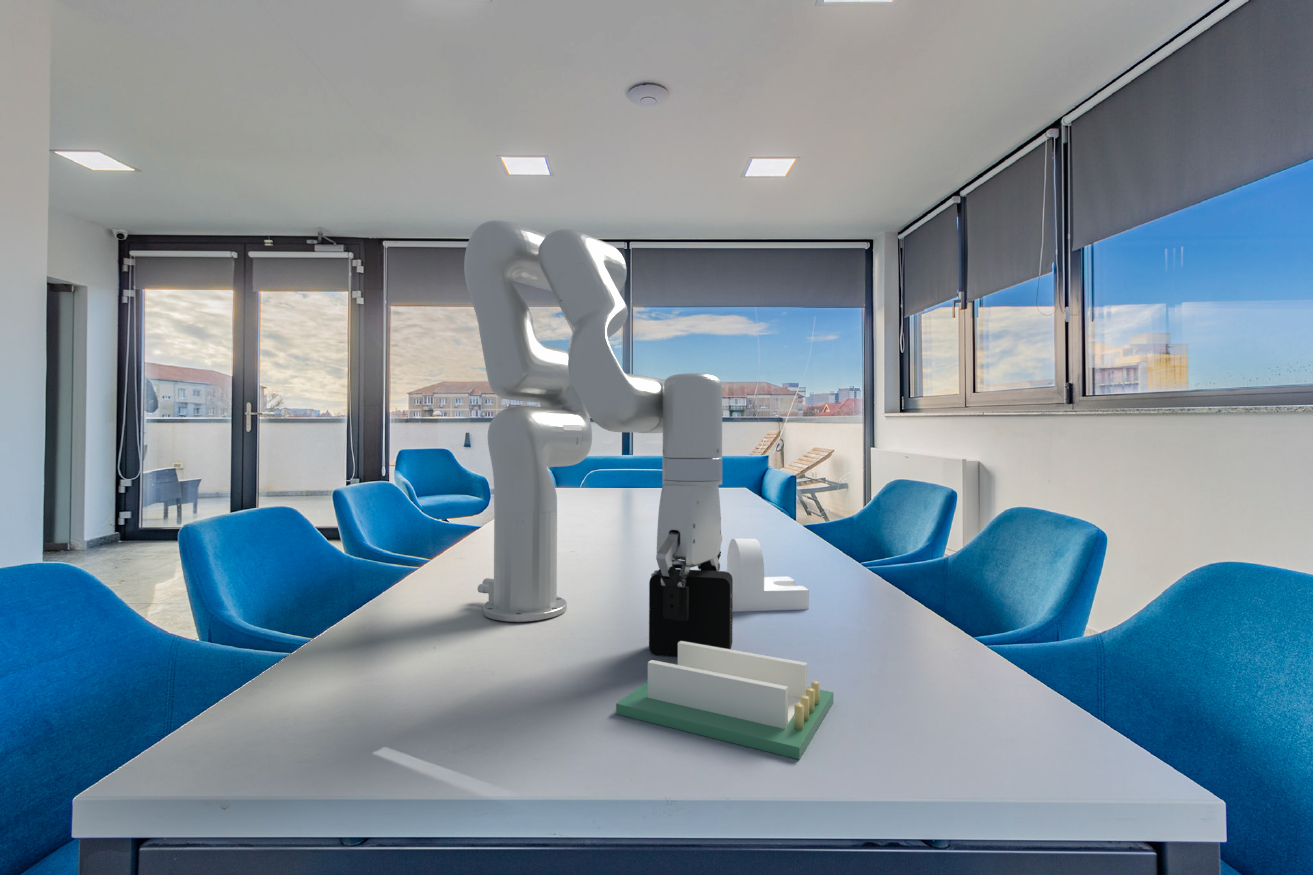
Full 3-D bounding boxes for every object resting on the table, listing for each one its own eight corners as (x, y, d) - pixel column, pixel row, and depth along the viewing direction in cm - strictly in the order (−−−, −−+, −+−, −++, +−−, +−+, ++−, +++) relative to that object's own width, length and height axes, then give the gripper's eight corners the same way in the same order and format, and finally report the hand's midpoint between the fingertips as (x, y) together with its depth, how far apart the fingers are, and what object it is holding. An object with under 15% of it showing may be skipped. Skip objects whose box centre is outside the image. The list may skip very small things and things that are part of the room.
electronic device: (729, 661, 75) (729, 578, 75) (648, 655, 77) (649, 574, 77) (732, 650, 79) (732, 571, 79) (655, 644, 81) (655, 567, 81)
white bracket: (788, 598, 107) (788, 533, 107) (808, 613, 97) (809, 543, 97) (685, 600, 105) (685, 534, 105) (695, 616, 95) (695, 544, 95)
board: (616, 713, 60) (616, 667, 60) (675, 670, 72) (675, 631, 72) (799, 759, 52) (799, 705, 52) (833, 701, 63) (833, 657, 63)
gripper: (693, 469, 87) (693, 592, 87) (631, 474, 72) (631, 623, 72) (744, 470, 84) (744, 598, 84) (690, 476, 69) (690, 633, 68)
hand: (692, 609), depth 78 cm, fingers open, 8 cm apart
